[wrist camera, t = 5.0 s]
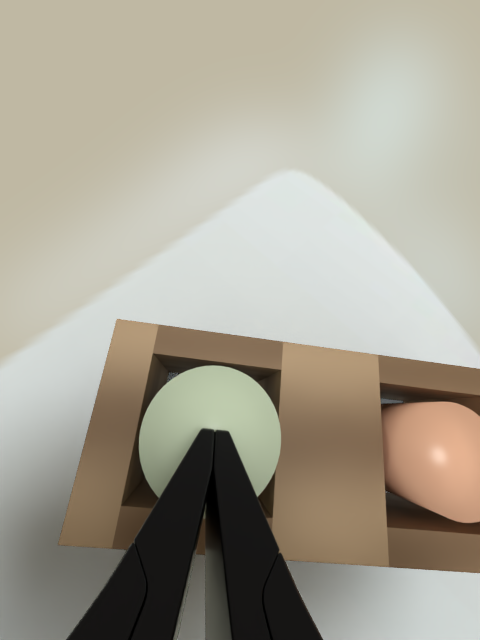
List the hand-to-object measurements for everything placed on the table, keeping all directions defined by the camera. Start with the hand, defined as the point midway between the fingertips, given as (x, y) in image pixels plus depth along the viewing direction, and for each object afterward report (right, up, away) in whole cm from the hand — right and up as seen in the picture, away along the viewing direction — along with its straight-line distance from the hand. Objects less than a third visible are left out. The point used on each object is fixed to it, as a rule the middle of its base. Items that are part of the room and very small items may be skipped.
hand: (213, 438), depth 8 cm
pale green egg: (-1, -2, +5) cm, 5 cm away
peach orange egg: (+9, -3, +8) cm, 12 cm away
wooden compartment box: (+4, -3, +9) cm, 10 cm away
